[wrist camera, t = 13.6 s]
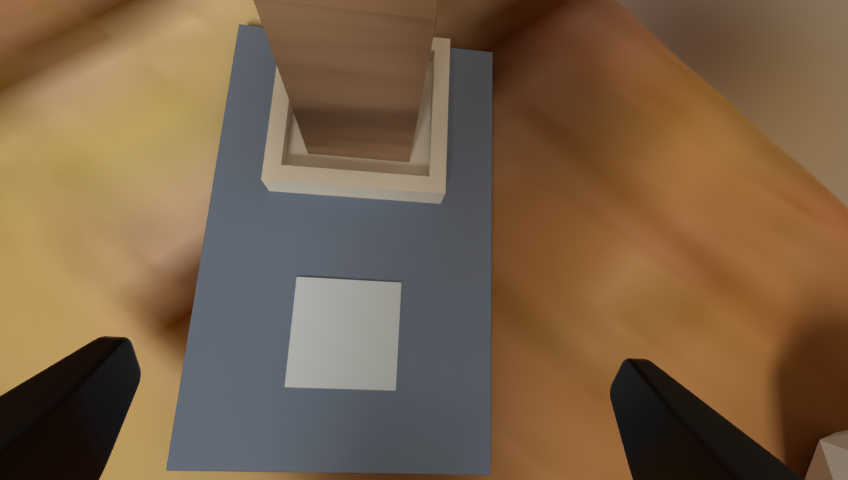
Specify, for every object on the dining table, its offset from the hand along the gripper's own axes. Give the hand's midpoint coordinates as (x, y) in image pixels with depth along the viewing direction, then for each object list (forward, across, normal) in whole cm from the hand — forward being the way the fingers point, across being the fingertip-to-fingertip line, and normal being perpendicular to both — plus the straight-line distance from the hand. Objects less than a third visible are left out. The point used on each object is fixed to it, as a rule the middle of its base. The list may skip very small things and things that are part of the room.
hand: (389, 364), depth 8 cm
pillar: (+17, +2, 0) cm, 17 cm away
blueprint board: (+14, +2, +6) cm, 15 cm away
